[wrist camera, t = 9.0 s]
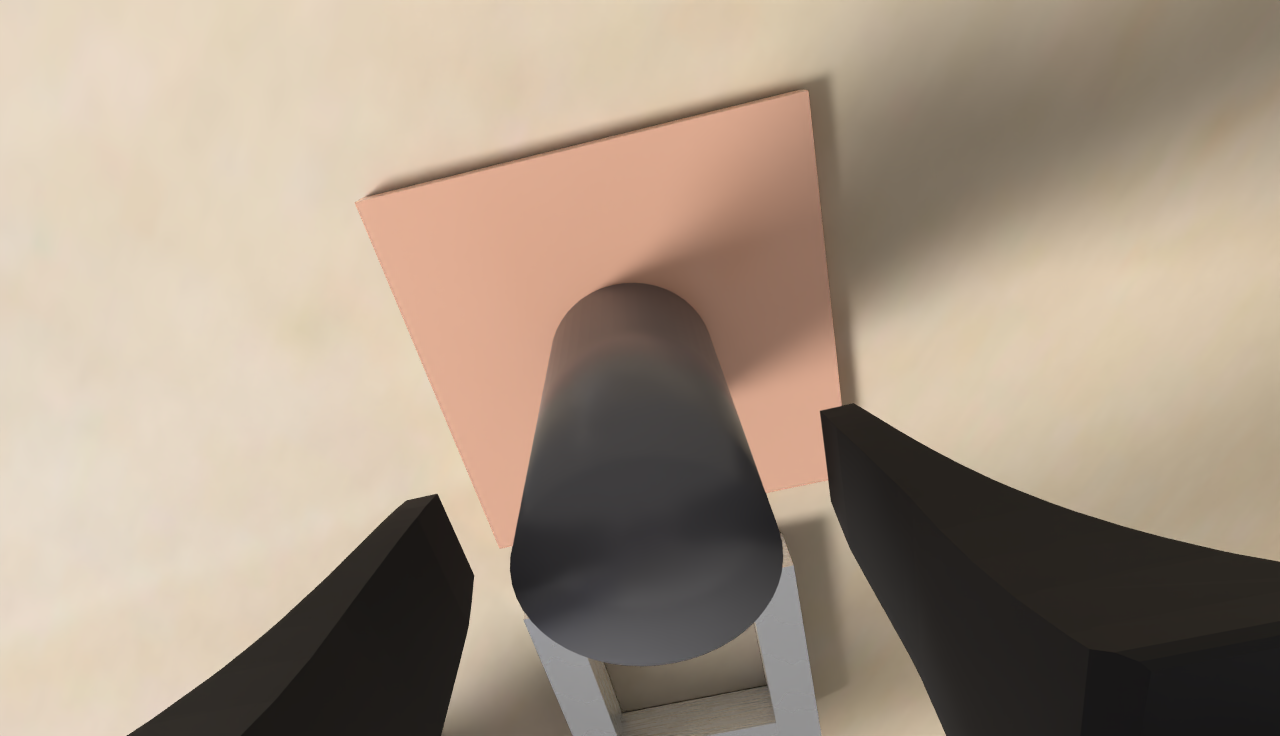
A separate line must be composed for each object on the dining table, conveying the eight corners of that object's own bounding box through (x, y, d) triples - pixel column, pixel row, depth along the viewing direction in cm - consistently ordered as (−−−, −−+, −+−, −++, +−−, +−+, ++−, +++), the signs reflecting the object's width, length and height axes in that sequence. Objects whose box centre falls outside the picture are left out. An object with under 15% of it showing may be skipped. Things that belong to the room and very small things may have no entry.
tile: (502, 535, 21) (499, 548, 20) (363, 197, 16) (354, 202, 16) (842, 464, 20) (849, 475, 20) (801, 89, 15) (808, 90, 15)
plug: (575, 443, 19) (554, 686, 12) (530, 303, 17) (471, 491, 10) (724, 410, 18) (797, 638, 11) (696, 265, 17) (763, 428, 9)
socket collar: (594, 744, 25) (592, 783, 24) (529, 584, 22) (523, 619, 20) (811, 704, 25) (822, 741, 24) (781, 533, 21) (793, 565, 20)
